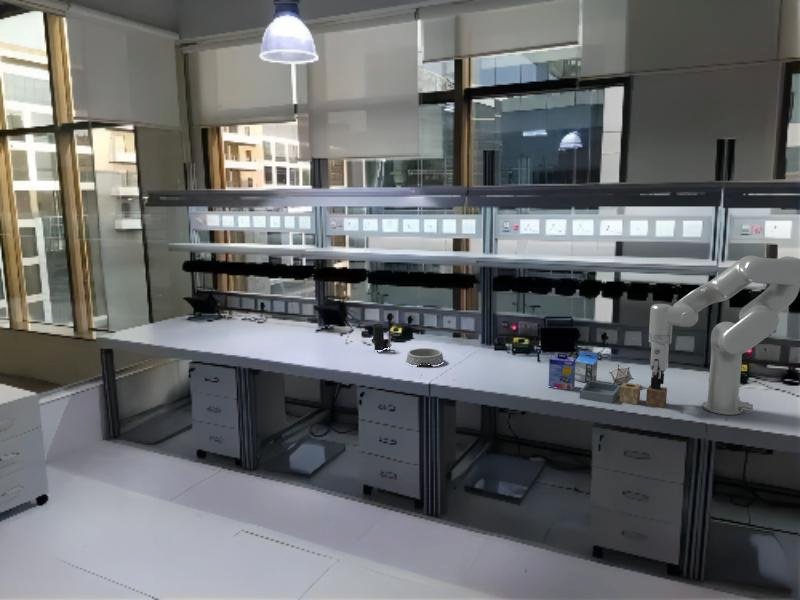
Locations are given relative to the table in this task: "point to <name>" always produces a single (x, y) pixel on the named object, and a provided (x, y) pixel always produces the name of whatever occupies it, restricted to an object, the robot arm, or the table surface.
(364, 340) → the table surface
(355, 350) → the table surface
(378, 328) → the scope
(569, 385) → the ink cartridge box
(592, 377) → the label tape box
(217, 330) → the table surface
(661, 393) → the walnut block
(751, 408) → the robot arm
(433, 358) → the dog bowl
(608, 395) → the tray
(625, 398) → the oak block
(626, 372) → the beige spiked polyhedron
